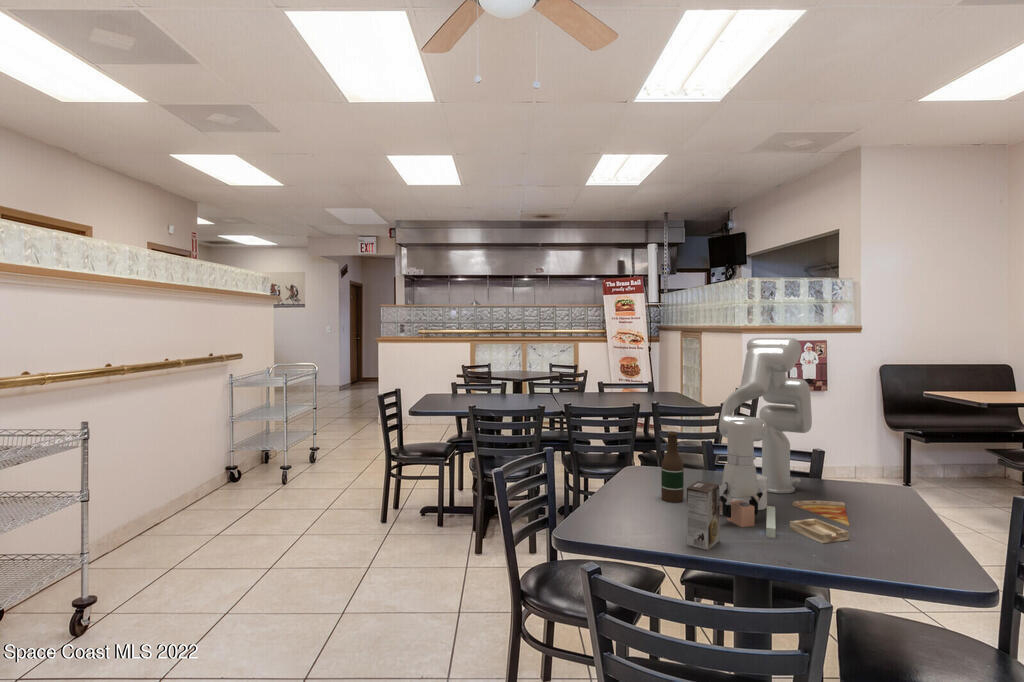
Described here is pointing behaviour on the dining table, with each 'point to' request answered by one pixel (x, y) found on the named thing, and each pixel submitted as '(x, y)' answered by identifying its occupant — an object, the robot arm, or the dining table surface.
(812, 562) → the dining table surface
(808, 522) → the keyed cradle
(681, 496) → the beer bottle
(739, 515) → the block
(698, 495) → the coffee box
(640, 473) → the dining table surface
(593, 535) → the dining table surface
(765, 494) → the toilet tissue
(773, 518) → the pale green bar
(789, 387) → the robot arm
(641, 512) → the dining table surface
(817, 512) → the pizza slice
